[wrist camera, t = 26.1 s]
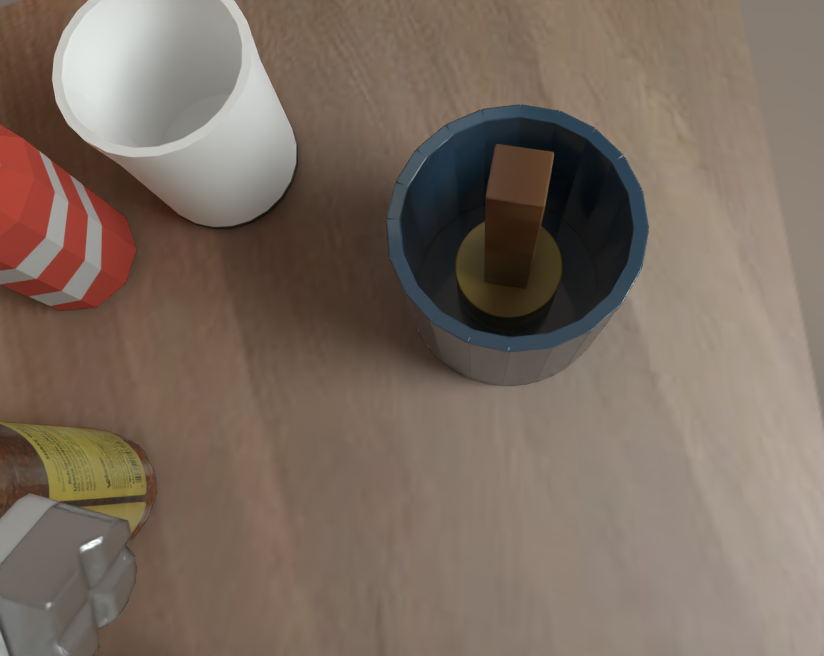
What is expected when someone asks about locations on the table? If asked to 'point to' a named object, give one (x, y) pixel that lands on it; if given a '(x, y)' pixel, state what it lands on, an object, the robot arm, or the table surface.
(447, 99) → the table surface
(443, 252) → the blue bin
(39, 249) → the beverage can
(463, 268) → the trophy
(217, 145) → the mug
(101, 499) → the sauce bottle
